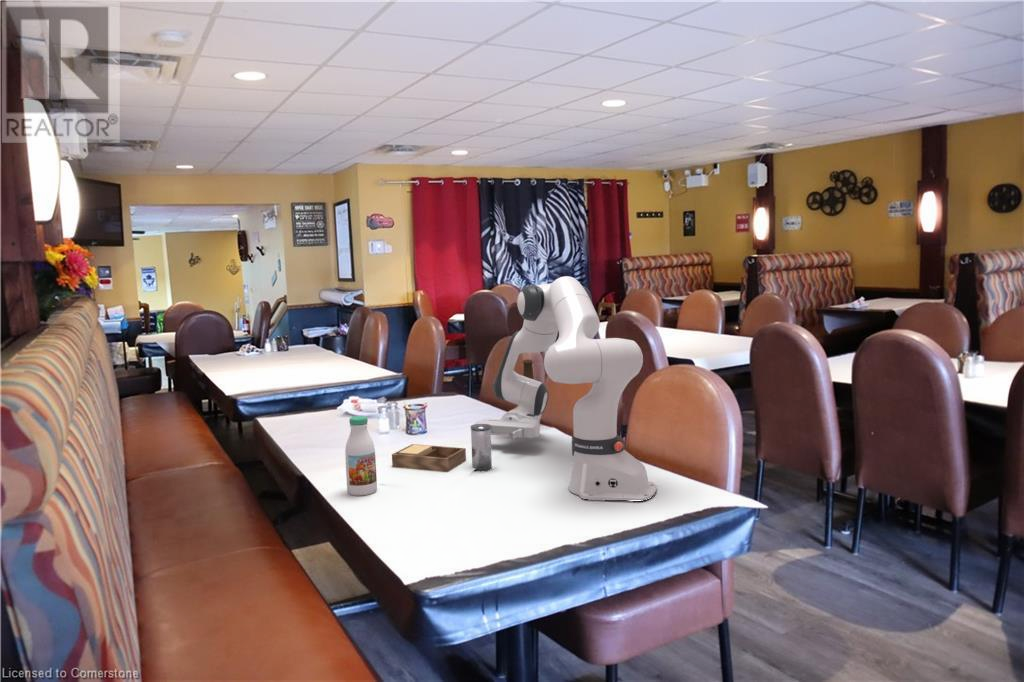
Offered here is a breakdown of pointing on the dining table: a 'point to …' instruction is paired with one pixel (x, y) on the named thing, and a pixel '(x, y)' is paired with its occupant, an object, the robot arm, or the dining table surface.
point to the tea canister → (481, 447)
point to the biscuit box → (417, 450)
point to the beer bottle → (528, 369)
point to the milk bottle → (360, 459)
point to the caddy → (431, 459)
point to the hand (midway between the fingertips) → (497, 434)
